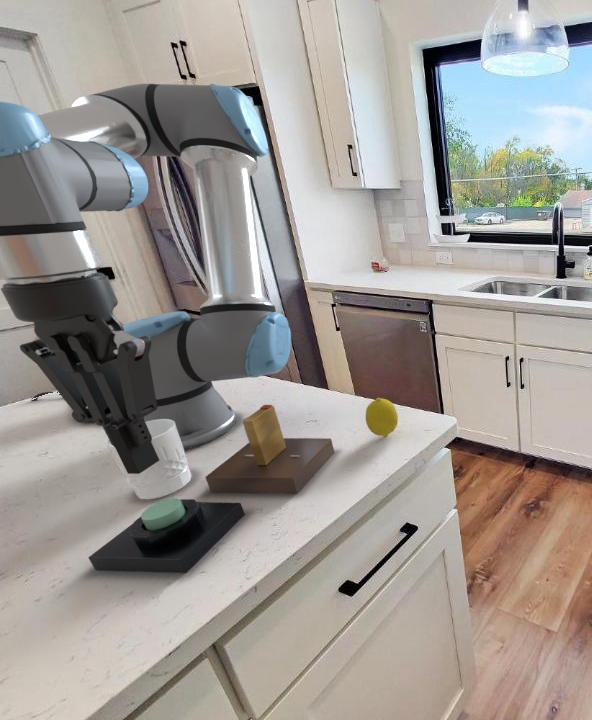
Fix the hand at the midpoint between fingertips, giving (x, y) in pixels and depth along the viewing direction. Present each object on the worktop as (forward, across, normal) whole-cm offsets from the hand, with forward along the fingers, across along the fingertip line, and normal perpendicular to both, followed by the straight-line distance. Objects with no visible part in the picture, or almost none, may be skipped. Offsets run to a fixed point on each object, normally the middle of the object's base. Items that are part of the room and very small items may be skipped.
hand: (144, 466), depth 52 cm
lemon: (+12, -18, -26) cm, 34 cm away
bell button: (+8, 0, 0) cm, 8 cm away
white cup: (+12, +12, -11) cm, 20 cm away
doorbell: (+12, 0, 0) cm, 12 cm away
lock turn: (+9, -4, -15) cm, 18 cm away
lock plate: (+12, -4, -15) cm, 19 cm away
